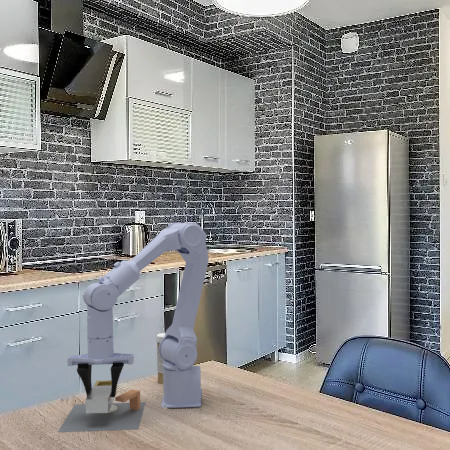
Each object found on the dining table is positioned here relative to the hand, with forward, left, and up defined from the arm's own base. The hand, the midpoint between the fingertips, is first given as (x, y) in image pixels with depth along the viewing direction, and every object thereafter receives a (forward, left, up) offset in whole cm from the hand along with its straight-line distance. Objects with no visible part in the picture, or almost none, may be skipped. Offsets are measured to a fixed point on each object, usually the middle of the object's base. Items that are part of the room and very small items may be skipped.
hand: (101, 396), depth 125 cm
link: (0, -1, -2) cm, 2 cm away
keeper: (-5, -2, -5) cm, 8 cm away
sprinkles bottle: (-13, -25, -5) cm, 29 cm away
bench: (-1, -1, -5) cm, 5 cm away
